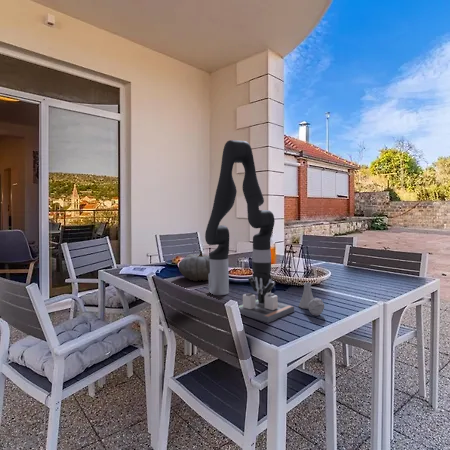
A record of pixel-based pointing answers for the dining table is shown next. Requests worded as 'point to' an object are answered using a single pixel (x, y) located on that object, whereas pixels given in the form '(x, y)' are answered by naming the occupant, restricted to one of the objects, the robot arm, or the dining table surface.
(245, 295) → the breaker
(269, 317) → the square grey tray
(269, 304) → the tripped breaker
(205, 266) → the gourd
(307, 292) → the flask
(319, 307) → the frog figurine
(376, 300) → the dining table surface
